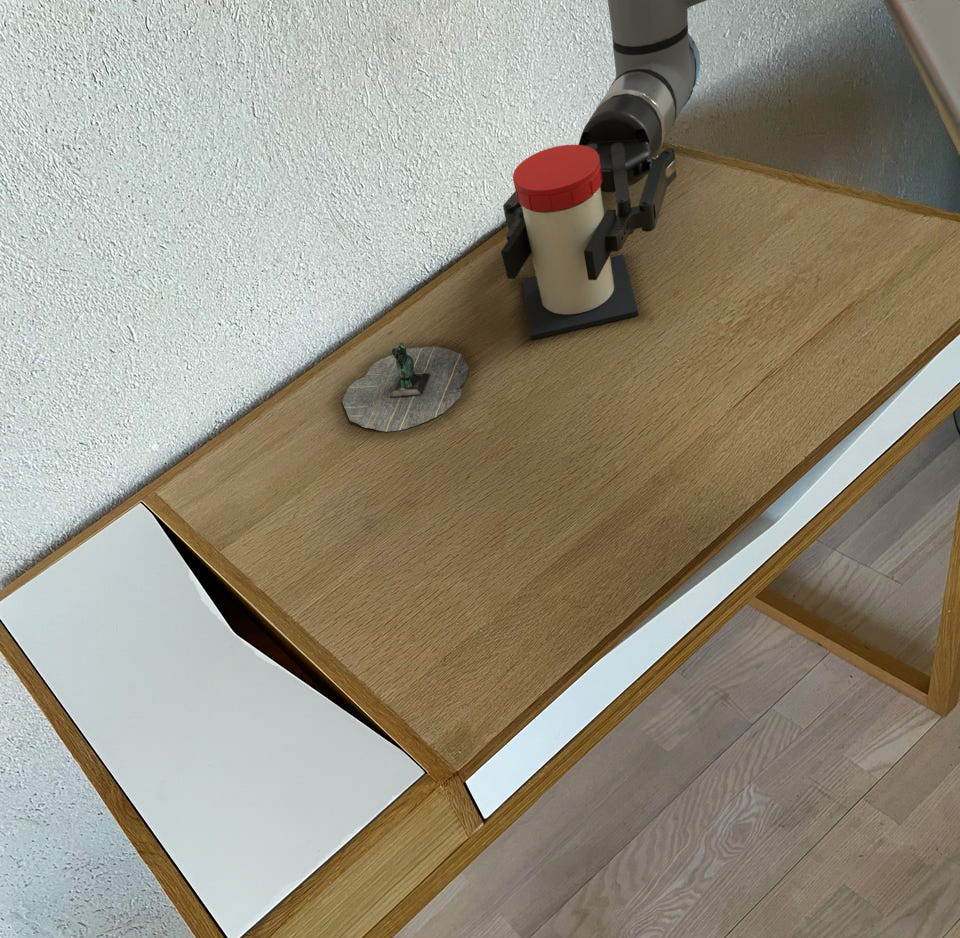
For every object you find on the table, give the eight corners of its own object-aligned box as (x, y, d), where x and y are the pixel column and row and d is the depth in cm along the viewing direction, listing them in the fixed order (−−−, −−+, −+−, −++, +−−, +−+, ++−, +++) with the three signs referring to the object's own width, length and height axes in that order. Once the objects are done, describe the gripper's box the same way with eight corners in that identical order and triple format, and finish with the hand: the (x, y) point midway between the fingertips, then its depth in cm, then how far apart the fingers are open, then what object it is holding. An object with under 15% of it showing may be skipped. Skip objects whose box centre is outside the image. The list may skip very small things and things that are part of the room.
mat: (623, 258, 93) (623, 254, 93) (638, 315, 87) (637, 310, 86) (523, 282, 95) (522, 278, 94) (530, 340, 88) (529, 335, 88)
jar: (609, 264, 92) (592, 144, 83) (618, 304, 87) (602, 182, 79) (538, 281, 93) (514, 165, 84) (544, 321, 88) (519, 203, 80)
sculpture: (448, 335, 93) (451, 304, 85) (480, 423, 93) (487, 400, 85) (331, 375, 92) (323, 347, 84) (364, 463, 92) (359, 445, 84)
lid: (596, 157, 84) (593, 136, 83) (607, 198, 79) (604, 176, 78) (514, 179, 85) (510, 158, 84) (520, 220, 81) (515, 198, 79)
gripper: (728, 166, 93) (663, 305, 82) (540, 172, 102) (457, 300, 90) (725, 86, 88) (655, 224, 76) (527, 99, 96) (436, 226, 84)
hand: (548, 265), depth 83 cm, fingers closed on jar, 7 cm apart
